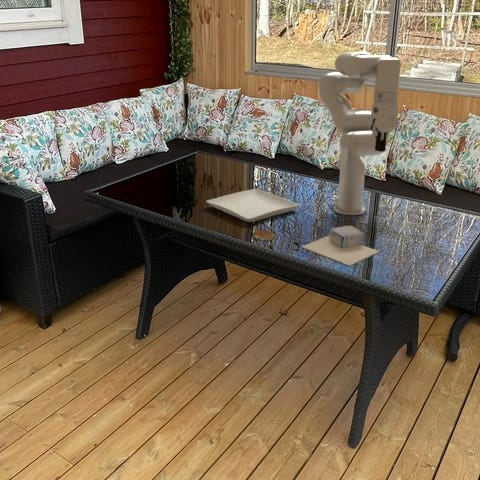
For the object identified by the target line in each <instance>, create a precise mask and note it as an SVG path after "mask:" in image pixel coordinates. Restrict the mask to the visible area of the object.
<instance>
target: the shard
mask: <svg viewBox="0 0 480 480" xmlns="http://www.w3.org/2000/svg"><path fill="white" fill-rule="evenodd" d="M253 236H254V237H253V238H260V239H268V240H267V241H269V240H271V241H272V240H273V239H274V238H275V237H276V236H277V234H276V233H275V232H273V231H270V230H267V229H265V228H262V227H259V226H255V230H254V234H253Z"/></svg>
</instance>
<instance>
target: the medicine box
mask: <svg viewBox="0 0 480 480" xmlns="http://www.w3.org/2000/svg"><path fill="white" fill-rule="evenodd" d="M329 235H330V240H331V241H332V242H333V243H335V244H336V245H338V246H339V247H341V248H345V247H351V246H356V245H363V243H364V232H362V230H361V231H360V230H359V229H358V228H356V227H355V226H352V225H350V224H349V225H345V226H343V225H342V226H337V227H331V228H330V229H329Z"/></svg>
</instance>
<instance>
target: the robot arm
mask: <svg viewBox="0 0 480 480" xmlns="http://www.w3.org/2000/svg"><path fill="white" fill-rule="evenodd" d="M401 63H402V62H401V60H400V58H398V57H392V56H391V55H385V54H384V55H383V54H381V55H379V54H376V55H375V54H374V55H373V54H372V53H370V52H368V51H347V52H346V51H345V52H342V53H340V54H339V55H338V56H337V57H336V59H335V62H334V66H335V70H336V71H334V72H327V73H325V74H324V75H322V76H321V77H320V78H319V80H318V91H319V92H318V93H319V95H320V98H321V99H320V100H321V101H322V103H323V104H324V106H325V107H326V108H327V110H328V112H329V114H330V117H331V119H332V121H333V124H334V126H335V128H336V131H337V133H338V134H339V135H341V136H340V139H339V153H340V165H339V167H340V169H339V183H338V184H339V185H338V195H335V194H334V195H332V197H331V199H330V201H331V202H333V203H335V204H334V206H333V211H334V212H335V213H337V214H340V215H343V216H344V215H346V216H359V215H360V216H361V215H363V214H365V212H366V211H367V210H366V207H365V206H364V205H363V197H364V187H365V179H366V177H365V175H366V167H365V164H364V162H363V160H362V159H361V157H369V156H371V157H372V156H378V155H379V156H380V155H382V154H383V153H384V152H386V148H387V140H388V137H389V134H391V133H392V132H393V131H395V130H396V129H397V127H398V117H399V116H398V115H399V114H398V113H399V112H398V111H399V105H398V92H399V83H400V74H401ZM369 79H371V80H372V79H375V84H374V91H373V92H374V93H373V103H372V108H371V111H370V110H353V108H352V105H351V103H350V102H349V100H347V99H346V98H345V96H343V94H344V95H347V94H348V95H349V94H358V93H360V92H361V91H362V89H363V88H364V87H365V86H366V83H367V82H368V80H369Z"/></svg>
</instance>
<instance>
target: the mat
mask: <svg viewBox="0 0 480 480" xmlns="http://www.w3.org/2000/svg"><path fill="white" fill-rule="evenodd" d="M301 249H304V250H307V251H309V252H312V253H315V254H317V255H320V256H321V257H324V258H327V259H329V258H330V259H329V260H332V259H333V260H332V261H334V260H335V262H337V261H338V262H337V263H339V262H341V263H340V264H342V263H343V265H345V266H347V265H348V267H351V266H353V265H354V266H355V265H356V264H357V263H360V262H362V261H365V260H366V259H368V258H371V257H373V256H375V255H377V254H379V253H380V251H379V250H376V249H374V248H371V247H368V246H365V245H363V244H362V245H356V246H351V247H345V248H341V247H339V246H338V245H336V244H335V243H333V242H332V241H331V240H330V234H329V235H326V236H325V237H322V238H320V239H317V240H315V241H311V242H309V243H307V244H304V245H302V246H301Z"/></svg>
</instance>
